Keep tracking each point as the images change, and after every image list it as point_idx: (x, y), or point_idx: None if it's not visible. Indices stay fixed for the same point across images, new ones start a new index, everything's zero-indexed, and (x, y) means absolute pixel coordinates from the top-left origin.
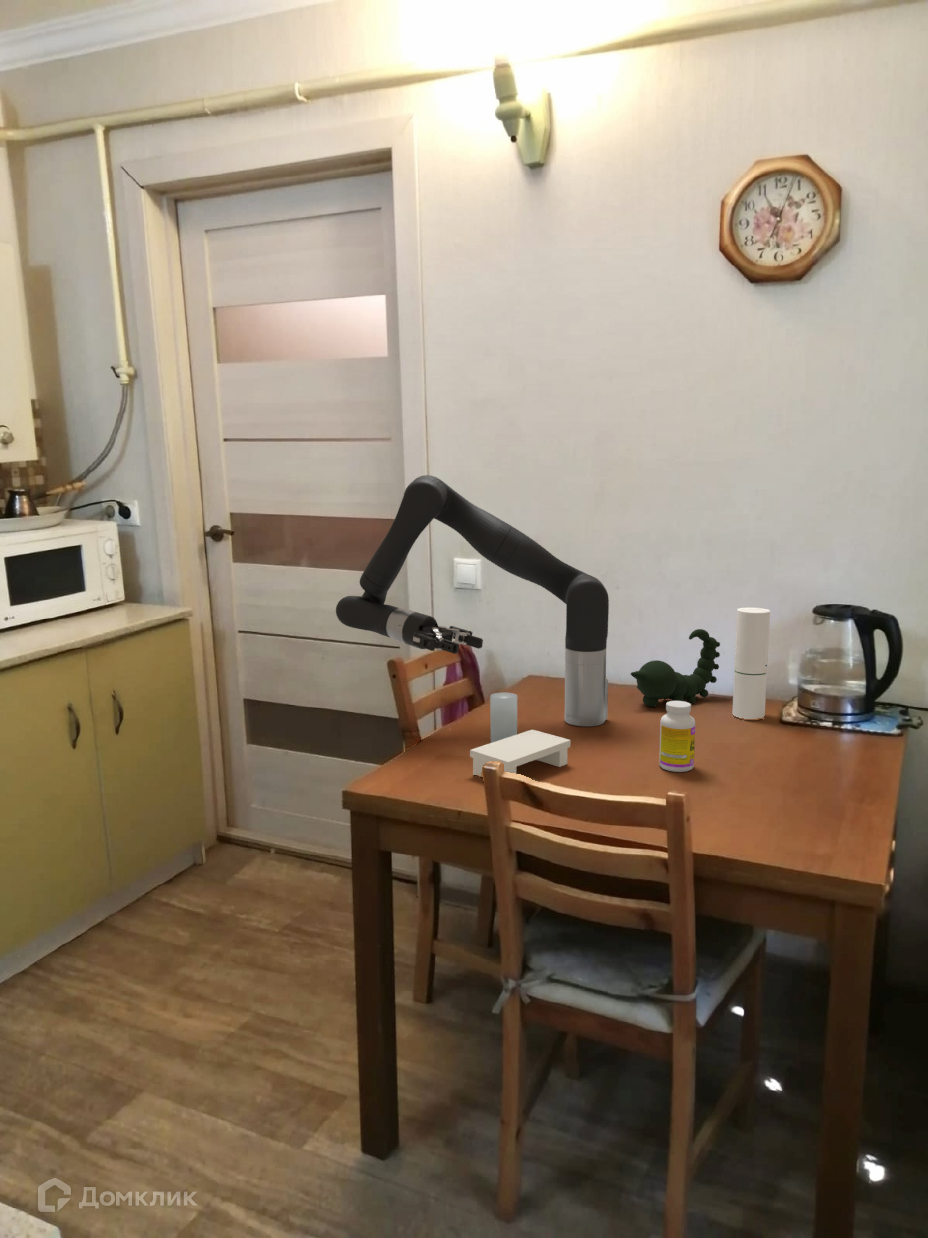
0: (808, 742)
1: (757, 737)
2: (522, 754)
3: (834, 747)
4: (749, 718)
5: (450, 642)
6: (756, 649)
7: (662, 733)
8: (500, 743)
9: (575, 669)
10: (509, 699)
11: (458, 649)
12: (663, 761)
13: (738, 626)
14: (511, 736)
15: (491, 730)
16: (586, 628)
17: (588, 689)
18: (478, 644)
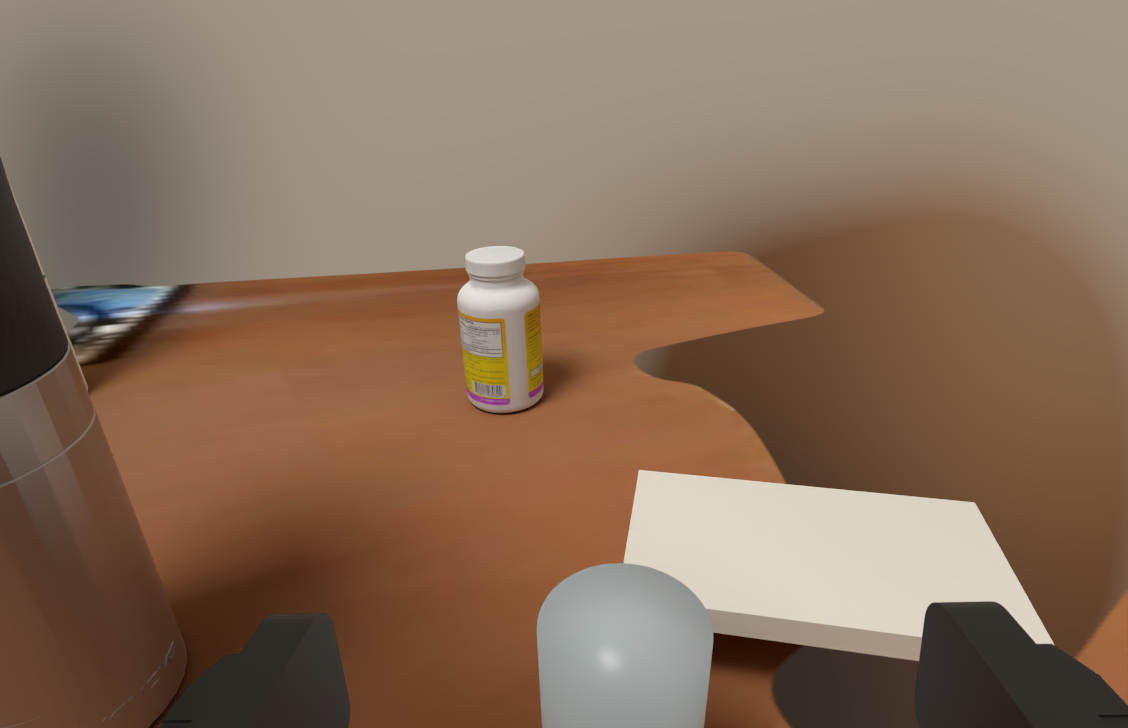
0: (252, 325)
1: (232, 364)
2: (879, 504)
3: (275, 307)
4: (85, 385)
5: (1084, 707)
6: (18, 206)
7: (530, 328)
8: (870, 604)
9: (79, 473)
10: (662, 573)
11: (924, 662)
12: (538, 386)
13: None
14: (763, 613)
15: None
16: (14, 218)
17: (135, 515)
18: (330, 704)
